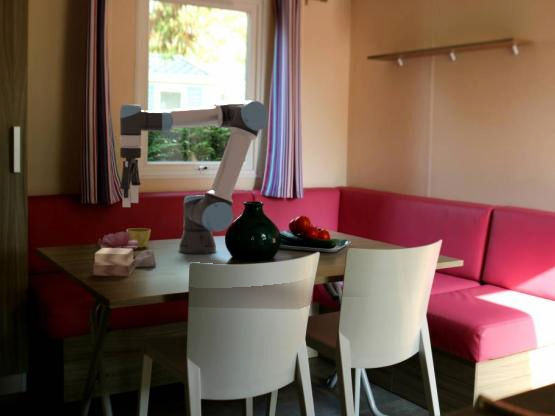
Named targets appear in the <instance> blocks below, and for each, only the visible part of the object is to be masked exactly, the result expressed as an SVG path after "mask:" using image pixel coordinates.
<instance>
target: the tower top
mask: <svg viewBox="0 0 555 416" xmlns="http://www.w3.org/2000/svg"><path fill="white" fill-rule="evenodd" d="M133 259H134V251H133V249H125V248H100V249H99V250H97V251H96V252H95V253H94V264H95V265H118V266H127V265H128V264H129V263H130V262H131V261H132V260H133Z"/></svg>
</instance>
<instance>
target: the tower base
mask: <svg viewBox="0 0 555 416" xmlns="http://www.w3.org/2000/svg"><path fill="white" fill-rule="evenodd" d="M92 268H93V271H92V272H93V276H106V277H109V276H110V277H113V276H114V277H117V276H118V277H129V276H130V275H131V274H132V273H133V272H134V271H135V270H136V265H135V258H133V260H132V261H131V262H130V263H129V264H128V265H127V266H118V265H95V263H94V264H93V265H92ZM134 269H135V270H134Z"/></svg>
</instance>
